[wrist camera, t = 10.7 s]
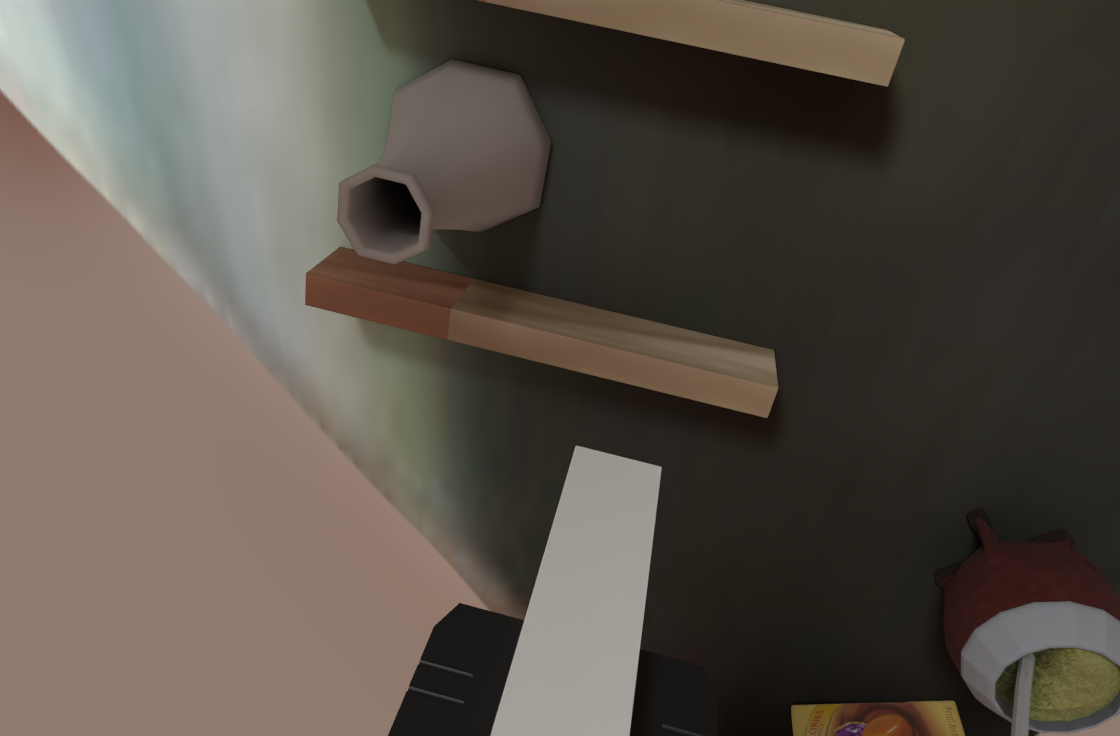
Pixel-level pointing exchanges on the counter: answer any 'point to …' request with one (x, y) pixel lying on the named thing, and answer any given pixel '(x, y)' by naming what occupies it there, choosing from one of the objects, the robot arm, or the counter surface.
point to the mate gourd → (1033, 631)
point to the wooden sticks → (587, 332)
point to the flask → (448, 162)
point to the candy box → (877, 719)
